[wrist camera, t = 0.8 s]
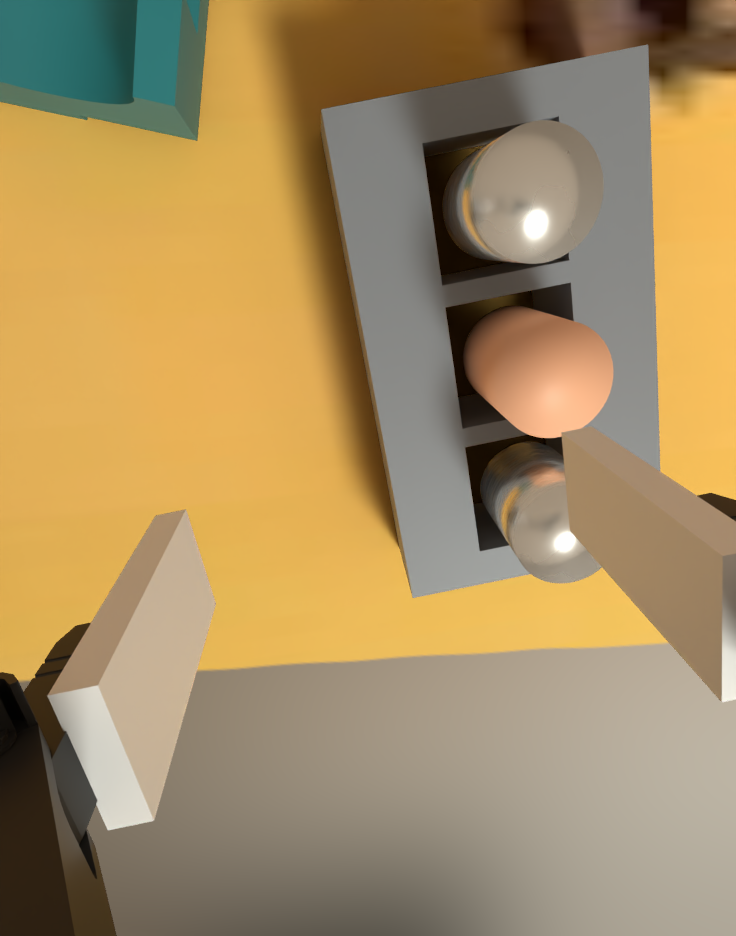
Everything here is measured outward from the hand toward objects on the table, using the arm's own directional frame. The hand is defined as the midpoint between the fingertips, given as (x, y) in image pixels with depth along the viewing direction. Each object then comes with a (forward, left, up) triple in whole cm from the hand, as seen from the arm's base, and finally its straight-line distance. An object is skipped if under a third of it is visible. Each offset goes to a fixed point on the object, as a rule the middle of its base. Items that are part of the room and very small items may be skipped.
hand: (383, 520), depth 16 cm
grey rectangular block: (+8, 0, -22) cm, 23 cm away
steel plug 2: (+8, -7, -16) cm, 19 cm away
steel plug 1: (+8, +7, -16) cm, 19 cm away
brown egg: (+8, 0, -16) cm, 18 cm away
